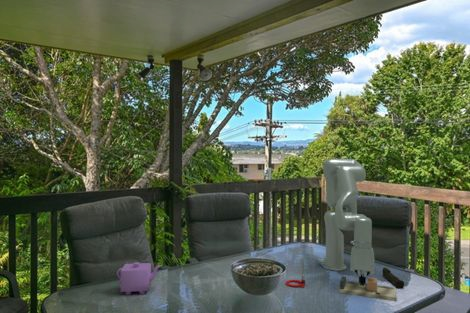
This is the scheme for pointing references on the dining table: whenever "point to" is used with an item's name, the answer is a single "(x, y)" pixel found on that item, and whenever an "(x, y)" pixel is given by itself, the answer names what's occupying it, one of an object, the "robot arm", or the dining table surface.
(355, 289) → the gauge board
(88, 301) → the dining table surface
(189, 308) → the dining table surface
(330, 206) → the robot arm
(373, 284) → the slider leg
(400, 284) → the hand tool
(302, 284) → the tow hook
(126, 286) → the teapot
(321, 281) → the dining table surface
